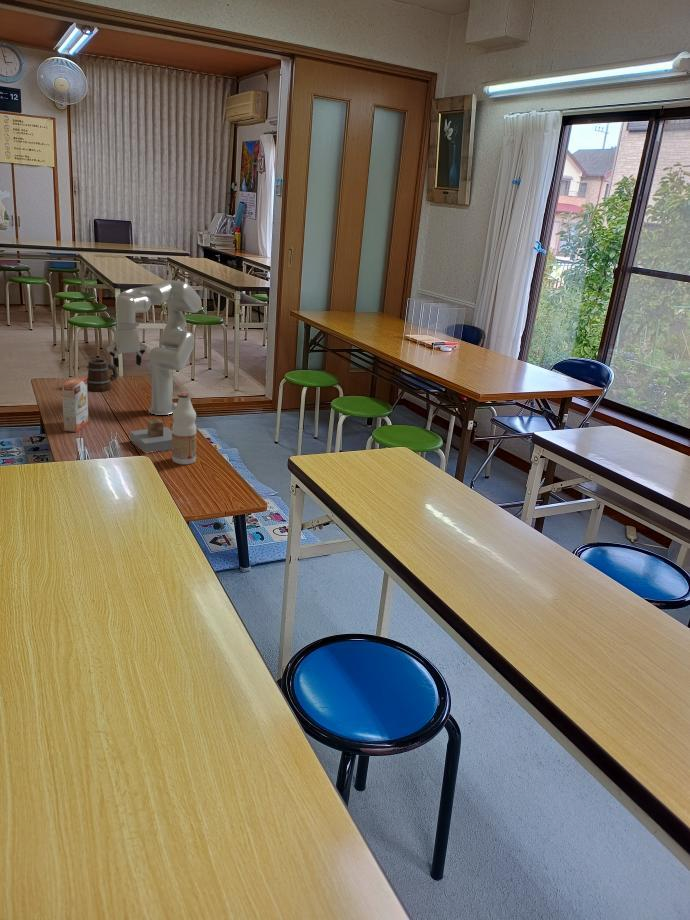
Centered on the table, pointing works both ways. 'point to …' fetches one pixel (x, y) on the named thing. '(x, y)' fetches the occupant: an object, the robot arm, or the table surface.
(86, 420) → the cracker box
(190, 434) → the fruit juice
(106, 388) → the mug
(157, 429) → the walnut block
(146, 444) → the grey box
